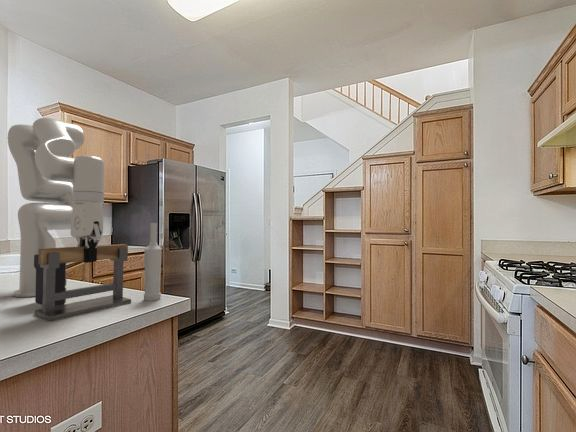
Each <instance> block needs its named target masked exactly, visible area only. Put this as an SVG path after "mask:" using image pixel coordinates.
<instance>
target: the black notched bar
mask: <svg viewBox="0 0 576 432" xmlns="http://www.w3.org/2000/svg"><path fill="white" fill-rule="evenodd" d="M38 258H39V254H36V255H34V267H35V269H36V293H35V296H34V297H35V298H34V301H35V304H37V305H38V304H39V305H41V306H43V269H44V268H42V267H40V264H38ZM67 275H68V273H67V263H59V268H56V274H55V292H60V291H66V290H67V287H66V286H67V279H68V278H67ZM64 304H67V299H63V300H57V301H55V306H58V305H64Z"/></svg>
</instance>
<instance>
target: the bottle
mask: <svg viewBox="0 0 576 432" xmlns="http://www.w3.org/2000/svg"><path fill="white" fill-rule="evenodd" d="M149 227H150V228H149V229H150V232H149V243H148V246H146V248H144V293H143V300H144V301H146V302H154V301H159V300H160V299H161V297H162V296H161V295H162V292H161V273H162V270H161V269H162V253H163V251H162V247H161V246H160V245H159V244H158V242H157V241H158V240H157V239H158V237H157V236H158V235H157V233H158V232H157V230H158V222H150V223H149Z"/></svg>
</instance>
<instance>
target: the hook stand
mask: <svg viewBox="0 0 576 432" xmlns="http://www.w3.org/2000/svg"><path fill="white" fill-rule="evenodd" d="M109 260H110V261H113V271H112V272H113V273H112V274H113V277H112V278H113V281H112V282H111V283H110V282H109V283H104V284H97V285H92V286H86V287H79V288H74V289H73V288H72V289H66V291H60V292H55V274H56V268H59V263H60V253H47V265H41V264H40V267H42V268H44V269H43V305H41V307H42V308H39V309H34V310H33V311H34V312H33V314H34V316H36V317H38V318H40V319H42V320H45V321H47V322H53V321H57V320H63V319H66V318H71V317H76V316H80V315H85V314H89V313H93V312H97V311H102V310H106V309H110V308H111V309H112V308H115V307H120V306H123V305H129V304H131V303H132V299H131V298H128V297H125V296H124V262H127V261H128V257H127V248H118V258H113V259H109ZM105 292H106V293H107V292H112V295H106V296H101V297H96V298H91V299H85V300H80V301H74V302H70V303H65V304H64V305H58V306H55V301H57V300H63V299H66V300H68V299H73V298H79V297H84V296H91V295H95V294H101V293H105Z"/></svg>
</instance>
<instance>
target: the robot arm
mask: <svg viewBox="0 0 576 432" xmlns="http://www.w3.org/2000/svg"><path fill="white" fill-rule="evenodd" d="M85 138H86V136H85V132H84V130H83V128H81V127H80V126H79V125H77V124H74V123H71V122H67V121H63V120H59V119H55V118H51V117H39V118H37V119H36V120H35V121H34V122H33V123H32V125H31V124H30V125H29V124H14V125H11V127H10V128H9V129H8V132H7V145H8V149H9V151H10V154H11V156H12V158H13V160H14V162H15V165H16V167H17V176H18V183H19V191H20V194H21V196H22V198H23V199H24V200H26V201H29V202H28V203H25V204H23V205H21V206H20V207H19V209H18V210H17V220H18V225H19V232H20V253H19V254H20V259H19V289H17V290H14V291H13V294H12V296H13V297H18V298H28V297H31V298H32V297H35V293H36V269H35V267H34V255H36V254H39V249H44V248H57V244H56V240H55V238H54V237H53V236H52V234H51V233H50V232H49V231H52V230H55V231H56V230H58V231H61V230H70V235H71V237H72V238H75V239H76V241H77V247H81V246H85V247H86V249H84V261H81V262H83V263H86V264H87V263H96V262H97V261H98V260H97V247H98V246H99V242H100V241H101V239H102V236H103V234H104V210H103V205H104V201H105V197H104V196H105V162H104V160H103V159H102V158H101V157H97V156H94V155H78V156H75V157H72V156H73V155H74V154H75V152H76V150H78V149H80V148H81V147H82V146H84V142H85V140H86V139H85Z"/></svg>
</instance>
